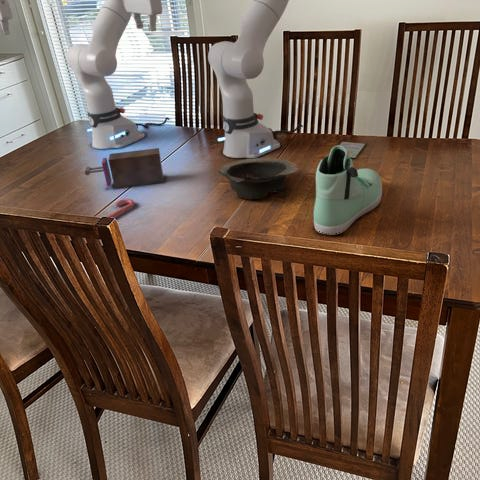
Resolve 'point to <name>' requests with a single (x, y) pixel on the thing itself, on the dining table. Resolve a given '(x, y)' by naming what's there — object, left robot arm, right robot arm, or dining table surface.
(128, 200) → the candy cane
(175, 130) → the dining table surface
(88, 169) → the drawer
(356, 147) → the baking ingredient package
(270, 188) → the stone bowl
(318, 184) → the sneaker
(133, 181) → the cabinet
